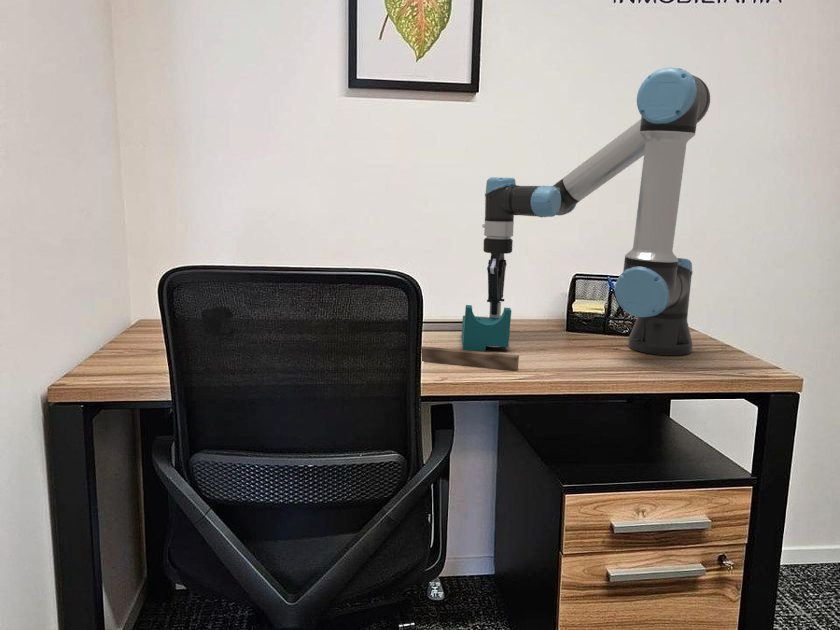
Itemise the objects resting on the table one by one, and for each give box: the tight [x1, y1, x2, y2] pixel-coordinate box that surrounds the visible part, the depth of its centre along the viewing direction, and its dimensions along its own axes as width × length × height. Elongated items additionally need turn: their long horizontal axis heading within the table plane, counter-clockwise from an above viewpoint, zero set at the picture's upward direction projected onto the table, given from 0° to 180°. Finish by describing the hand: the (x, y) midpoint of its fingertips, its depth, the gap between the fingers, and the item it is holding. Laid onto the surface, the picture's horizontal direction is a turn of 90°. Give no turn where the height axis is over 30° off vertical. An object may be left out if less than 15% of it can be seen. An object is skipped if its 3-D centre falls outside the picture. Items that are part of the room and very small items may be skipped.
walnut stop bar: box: [421, 345, 520, 372], centre depth 154 cm, size 22×2×3 cm, turn 72°
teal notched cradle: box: [461, 304, 512, 352], centre depth 174 cm, size 18×11×10 cm, turn 178°
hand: (494, 325), depth 185 cm, fingers closed
